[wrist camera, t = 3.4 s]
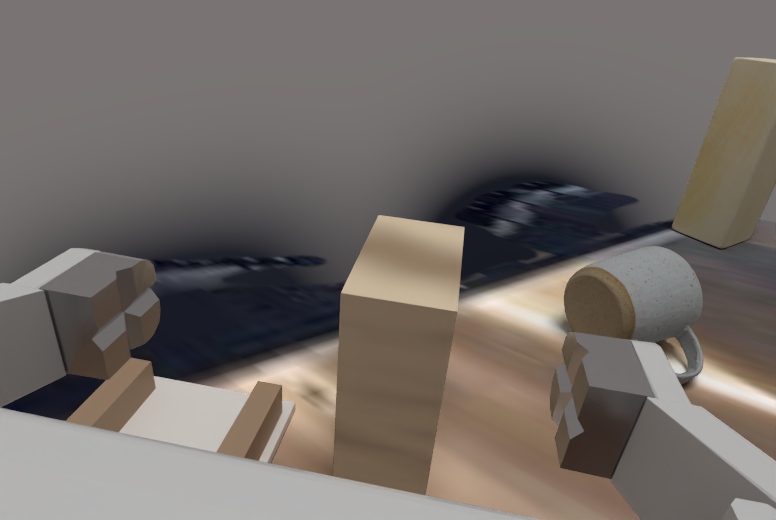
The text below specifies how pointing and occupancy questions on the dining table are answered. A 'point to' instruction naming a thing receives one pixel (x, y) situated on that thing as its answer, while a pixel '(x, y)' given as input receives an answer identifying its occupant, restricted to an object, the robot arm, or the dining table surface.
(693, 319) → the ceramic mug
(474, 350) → the dining table surface
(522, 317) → the dining table surface
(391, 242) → the wooden block
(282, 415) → the track
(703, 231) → the toy refrigerator
